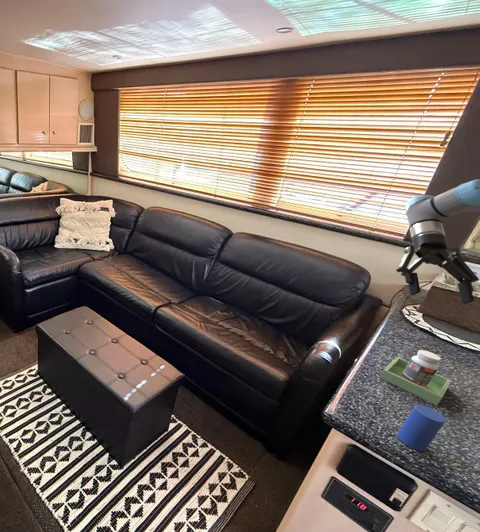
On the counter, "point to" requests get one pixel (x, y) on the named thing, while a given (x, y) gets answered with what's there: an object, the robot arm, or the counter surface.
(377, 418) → the counter surface
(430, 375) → the pill bottle
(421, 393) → the sage tray
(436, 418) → the blue cylinder
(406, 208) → the robot arm
